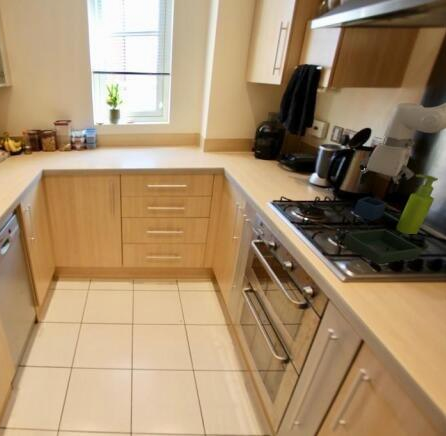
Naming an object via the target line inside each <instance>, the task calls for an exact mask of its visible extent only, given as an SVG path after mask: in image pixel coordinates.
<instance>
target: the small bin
mask: <svg viewBox="0 0 446 436" xmlns="http://www.w3.org/2000/svg"><path fill="white" fill-rule="evenodd" d="M387 205H388V202H385V201H382V200H379V199H377V198H374V197H371V196H367V197H363V198H360V199H358V200H357V201H356V205H355V207H354V209H353V213H352V214H353V215H355V216H357V217H360V218H362V219H365V220H367V221H370V222H373V221H375V220H378V219H381V218H382V217H383V214H384V212H385V210H386V208H387Z"/></svg>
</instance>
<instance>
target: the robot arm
mask: <svg viewBox="0 0 446 436" xmlns="http://www.w3.org/2000/svg"><path fill="white" fill-rule="evenodd" d="M444 129H446V102H445V103H442V104H440V105H437V106H432V107H425V106H424V105H422V104H420V103H412V102H404V103H398V104H397V105H395V106H394V109H392V113H391V115H390V118H389V120H388V124H387V126H386V129H385V131H384V134H383V136H382V139H381V140H380V141H381V142H379V143H377V144H376V146H375V148H374V149H373V151H372V153H371V156H370V157H365V158H361V159H359V160H358V163H359V169H360V170H361V177H360V179H359V181H360V182H359V184H360V185H363V184H367V183H368V180H369V178H370V175H371V173H370V172H373V173H378V174H381V175H384V176H387V177H391V178H392V181H393V182H391V184H390V186H389V188H388V190H387V193H388V194H393V193H395V192H397V191H398V189H399V187H400V184H401V183H403V182H405V181H409V179H411V178H412V177H414V176H415V172H414V171H412V170H411V169H410V168H409V167H408V166H407V165H408V163H409V160H410V155H411V151H412V150H411V147H414V146H415V144H416V142H415V141H413V137H414V134H415V132H416V131H419V132H423V133H426V134H433V133H438V132H440V131H443V130H444ZM410 146H411V147H410ZM366 163H367V165H366ZM403 174H405V176H403V177H402V175H403Z"/></svg>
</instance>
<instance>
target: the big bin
mask: <svg viewBox="0 0 446 436" xmlns="http://www.w3.org/2000/svg"><path fill="white" fill-rule="evenodd" d="M343 243H344V244H345V245H346V247H347V248H348V249H350V250H351V251H353V252H355V253H357V254H360V255H362V256H363V257H365V258H367V259H368V260H371V261H374V262H375V263H378V264H385V263H389V262H395V261H400V260H411V259H417V260H418V259H419V257H420V255H421V253H422V251H423V248H422V247H419V246H418V245H416V244H414V243H412V242H410V241H408V240H407V239H404V238H403V237H401V236H399V235H397V234H396V233H393V232H391V231H390V230H388V229H386V228H380V229H372V230H364V231H356V232H348V233H345V236H344V238H343V241H342V244H343ZM368 245H371V246H372V245H377V246H381V247H382V252H383V253H381V254H380V253H379V252H377V251H376V250H374V249H372V248H371V247H369V246H368ZM386 247H389V250H388V251H386V250H385V248H386ZM347 248H346V249H347ZM348 249H347V250H348ZM350 250H349V251H350ZM351 251H350V252H351ZM353 252H352V253H353Z"/></svg>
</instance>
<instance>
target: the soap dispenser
mask: <svg viewBox="0 0 446 436" xmlns="http://www.w3.org/2000/svg"><path fill="white" fill-rule="evenodd" d="M414 176H415V177H416V178H423V179H425V182H424V184H421V185H419V187H418V189H417V192H415V193H411V194H410V196H409V198H408V200H407V201H406V205H405V206H404V208H403V211H402V213H401V216H400V217H399V220H398V222H397V224H396V227H395V229H396V230H397V232H399V233H402V234H405V235H409V234H416V235H418V233H419V231H420V229H421V227H422V225H423V223H424V221H425V219H426V217H427V215H428V213H429V211H430V209H431V206H432V205H433V203H434V201H435V198H434V197H433V196H431V195H432V193H433V191H434V189H435V188H434V187H433V186H432V185H433V183H434V182H437V181H438V180H439V178H437V177H435V176H432V175H428V174H422V173H421V174H419V173H418V174H414Z"/></svg>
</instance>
